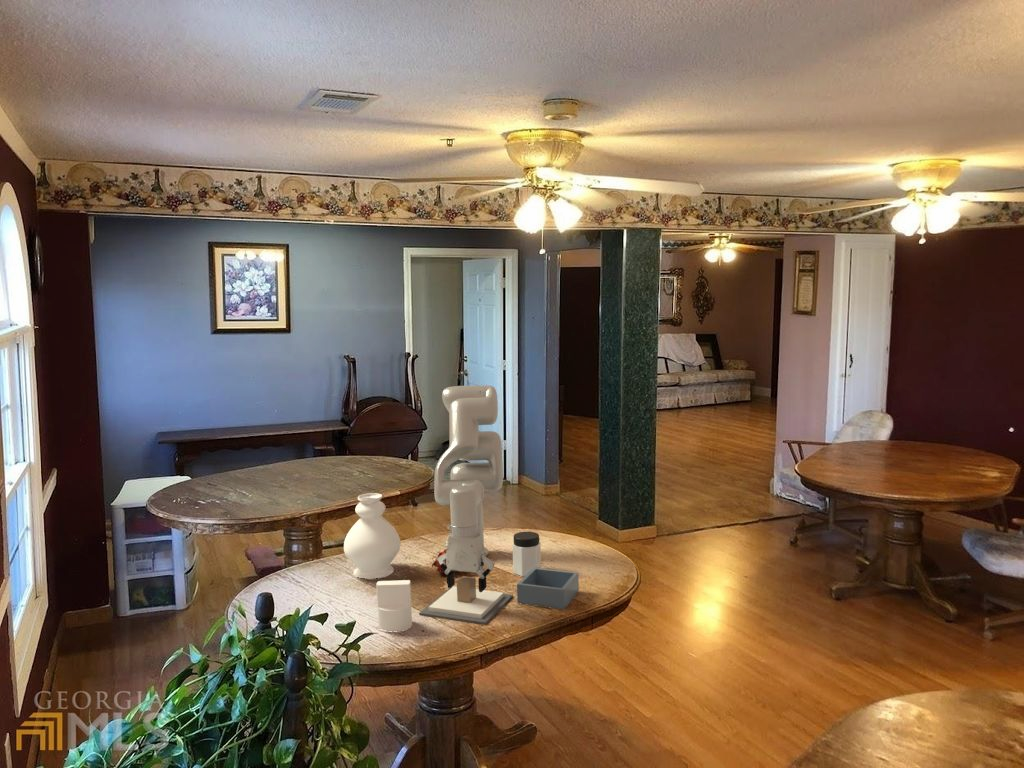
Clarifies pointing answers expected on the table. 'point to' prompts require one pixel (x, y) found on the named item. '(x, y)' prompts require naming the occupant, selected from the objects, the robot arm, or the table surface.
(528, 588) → the open square box
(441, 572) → the dragon fruit
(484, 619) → the mat
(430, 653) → the table surface
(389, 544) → the decorative vase
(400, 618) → the cylinder with rectangular tab
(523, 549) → the jar
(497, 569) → the table surface
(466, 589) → the lid
